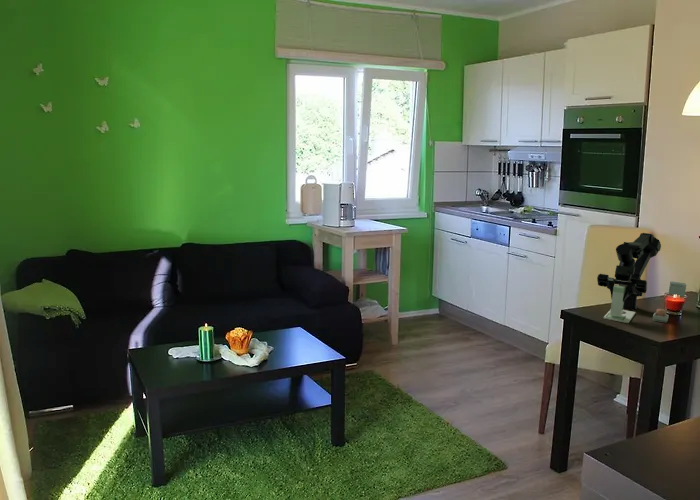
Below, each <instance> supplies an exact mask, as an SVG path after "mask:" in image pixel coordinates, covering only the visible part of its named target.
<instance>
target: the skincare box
mask: <svg viewBox="0 0 700 500" xmlns="http://www.w3.org/2000/svg"><path fill="white" fill-rule="evenodd" d="M686 291H687V284H686V283H685V282H677V281H670V283H669V288H668V294H677V295H680V296H683V297H684V298H685V297H686ZM668 294H667V295H668Z"/></svg>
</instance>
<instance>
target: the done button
mask: <svg viewBox="0 0 700 500" xmlns="http://www.w3.org/2000/svg"><path fill="white" fill-rule="evenodd" d="M655 313H656V314H657V315H660V316H666V315H667V309H663V308H657V309H656V312H655Z"/></svg>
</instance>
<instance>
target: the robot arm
mask: <svg viewBox="0 0 700 500" xmlns="http://www.w3.org/2000/svg"><path fill="white" fill-rule="evenodd" d="M661 248H662V244H661V241H660V240H659V239H658V238H656V237H655V235H654V234H652V233H646V232H642V233H640V235H639V236H638V237H637V238H636V239H635V240H634V241H632V242H627V241H623V243H621V244H619V245H617V246H616V247H615V253H616V257H617V259H618V261H619V263H618V264H617V265H616V266H615V272H614V277H611V276H609V274H605V273H599V274H597V278H596V279H597V285H598V286H599V287H603V288H604V287H606V288H607V290H609V293H610V298H611V301H612V295H613V287H614V286H615V285H619V286H625V287H626V289H625V294H624V297H623V302H624V305H623V309H625V310H633V311H636V310H637V308H638V305H637V299H638V297H643V294H646V293H647V290H648V282H647V280H645V279H642V278H641V277H642V275H643V273H644V271H645V270H646V268H647V267H648V264H649V261H650V259H652V258H654V257H656V256H657V255H658V253H659V252H660V251H661Z"/></svg>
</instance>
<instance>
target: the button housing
mask: <svg viewBox="0 0 700 500" xmlns="http://www.w3.org/2000/svg"><path fill="white" fill-rule="evenodd" d="M652 321H653V322H658V323H664V324H666V323H668V321H669V314H666V316H660V315H657V314H656V312H654V313H653V315H652Z"/></svg>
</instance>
